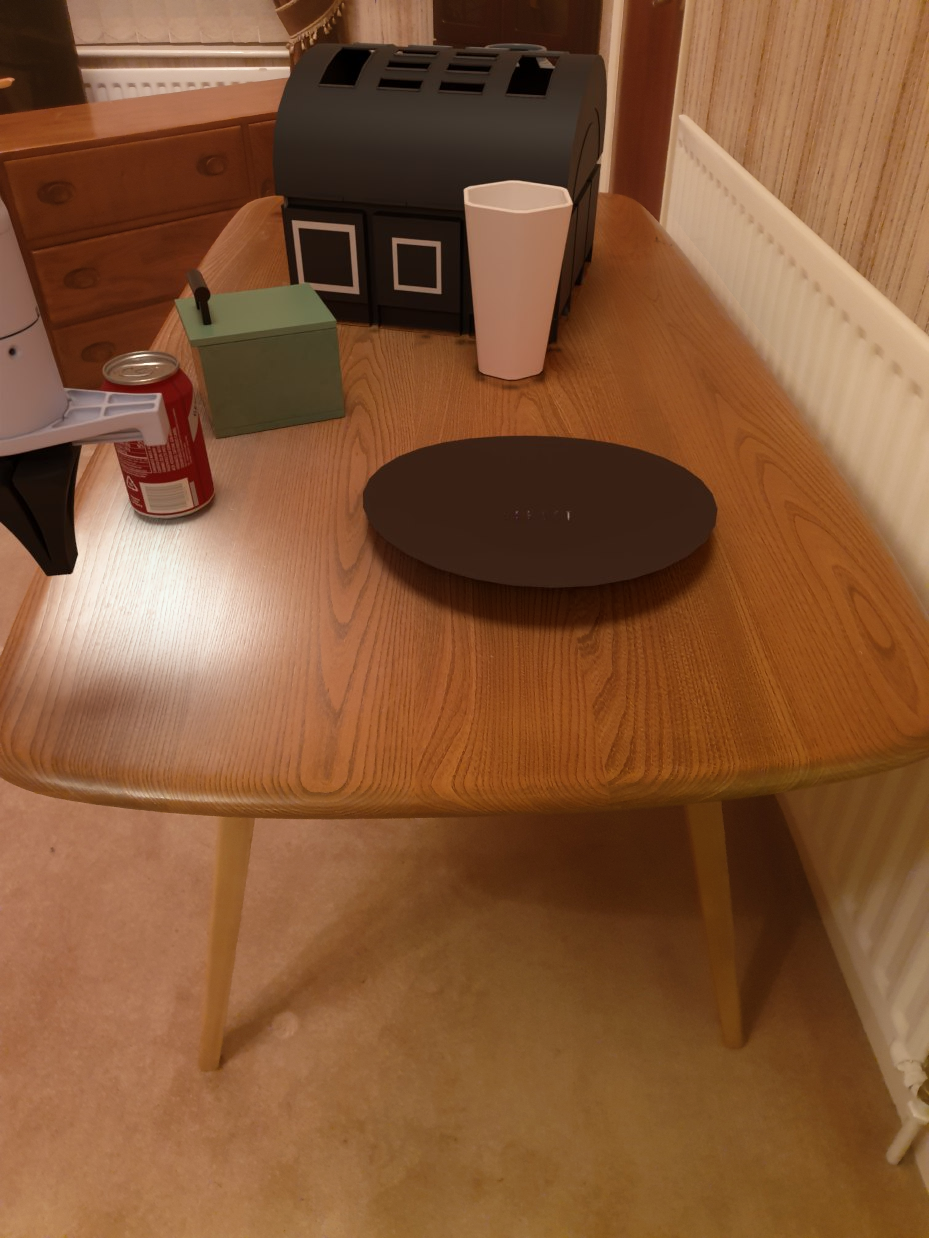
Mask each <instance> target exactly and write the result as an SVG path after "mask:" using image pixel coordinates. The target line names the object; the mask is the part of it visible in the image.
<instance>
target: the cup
mask: <svg viewBox="0 0 929 1238" xmlns="http://www.w3.org/2000/svg"><path fill="white" fill-rule="evenodd" d="M464 203H465V215H466V227H467V238H468V250H469V262H470V273H471V285H472V296H473V308H474V320H475V331H476V338H475V341H476V342H475V343H476V352H477V353H476V355H477V366H478V371H479V372H480V373H482V374H484V375H486V376H491V377H495V378H500V379H503V380H506V381H507V380H509V381H510V380H511V381H514V380H521V379H525V378H527V377H532V376H536V375H539V374H540V373H541V372H543V369H544V364H545V358H546V354H547V353H546V352H547V347H548V344H547V342H548V337H549V331H550V326H551V321H552V315H553V310H554V304H555V299H556V293H557V288H558V283H559V277H560V272H561V266H562V261H563V255H564V250H565V244H566V239H567V234H568V228H569V223H570V217H571V212H572V206H573V203H572V200H571V198H570V195H569V193H568V190H567V189H565V188H563V187H558V186H551V185H545V184H538V183H531V182H524V181H503V182H497V183H490V184H483V185H476V186H469V187H467V188H465V189H464Z"/></svg>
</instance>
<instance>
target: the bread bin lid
mask: <svg viewBox="0 0 929 1238" xmlns="http://www.w3.org/2000/svg"><path fill="white" fill-rule="evenodd" d="M185 278H186V282H187V283H188V285H189V287H190V290H191V292H192V295H193V296H191V297H183V298H175V299H174V305H175V308H176V311H177V314H178V316H179V319H180V322H181V325H182V327H183V330H184V332H185V335H186V338H187V341H188V343H189V346H191V347H199V346H206V345H213V344H220V343H227V342H235V341H242V340H249V339H256V338H264V337H271V336H278V335H285V334H292V333H300V332H307V331H314V330H321V329H328V328H338V324H337V322H336V319H335V318H334V316H333V315H332V314H331V312H330V311H329V310H328V308H327V307H326V306H325V304H324V303H323V301H322V300H321V299H320V297H319V296H318V295H317V293H316V292H315V291H314V289H313V288H312V287H311V285H310V284H309V283H305V284H297V285H290V284H289V285H282V286H273V287H266V288H258V289H249V290H241V291H233V292H224V293H217V294H211V291H210V289H209V287H208V285H207V283H206V281H205V278H204V276H203V274H202V273H201V271H200V270H199V269H197V268H191V269H189V270H188V271H187V272H186V277H185ZM191 347H190V348H191Z"/></svg>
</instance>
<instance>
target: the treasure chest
mask: <svg viewBox="0 0 929 1238" xmlns="http://www.w3.org/2000/svg"><path fill="white" fill-rule="evenodd" d="M537 58H547V59H557V60H556V63H555V65H552V66H540V64H539V61H538V59H537ZM517 63H518V64H519V65H518V64H517ZM607 106H608V81H607V69H606V63H605V60H604V57H603V56H602V54H588V53H587V54H585V53H584V54H583V53H570V52H569V50H568V51H559V50H558V51H557V50H547V51H537V50H528V52H518V51H510V49H503V48H485V47H480V46H479V47H477V46H476V47H475V46H466V47H465V48H454V46H452V45H451V46H450V45H433V44H432V45H431V44H430V45H429V44H408V45H407V46H399V45H398V46H397V45H396V44H394V43H373V42H371V43H370V42H357V41H356V42H353V43H352V44H351V43H331V42H330V43H329V42H327V43H316V44H315V45H313V46H312V47H310V48H309V49H307V50H305V51H304V53H303V54H302V55H301V56H300V58H299V59H298V61H296V63H295V64H294V66H293V68H292V71H291V72H290V75H289V77H288V78H287V81H286V82H285V85H284V89H283V92H282V95H281V97H280V101H279V105H278V106H277V107H278V108H277V113H276V117H275V123H274V127H273V141H272V171H273V173H272V174H273V185H274V194H275V197H276V196H277V197H282V198H283V203H282V204H280V209H281V218H282V226H283V234H284V235H283V236H284V243H285V249H286V250H285V251H286V260H287V268H288V275H289V285H297V284H305V283H309V284H310V285H311V287H312V288H313V289H314V291H315V292H316V293H317V295H318V296H319V297H320V299H321V300H322V301H323V303H324V304H325V306H326V307H327V308H328V310H329V311H330V312H331V314H332V315H333V316H334V318H335V319H336V322H337V325H338V324H339V325H347V326H348V325H349V326H357V327H366V328H371V326H372V325H378V329H384V330H394V331H395V330H396V331H404V332H412V333H423V334H431V335H432V334H433V335H441V336H449V337H451V336H452V337H461V336H462V335H463V334H467V335H468V338H470V339H476V331H475V320H474V308H473V296H472V285H471V273H470V262H469V250H468V238H467V227H466V215H465V203H464V189H465V188H467V187H469V186H476V185H483V184H490V183H497V182H503V181H524V182H531V183H538V184H545V185H551V186H558V187H563V188H565V189H567V190H568V193H569V195H570V198H571V200H572V203H573V206H572V212H571V217H570V223H569V228H568V234H567V239H566V244H565V250H564V255H563V261H562V266H561V272H560V277H559V283H558V288H557V293H556V299H555V304H554V310H553V315H552V321H551V326H550V331H549V337H548V342H547V345H549V344H557V343H558V340H559V339H560V336H561V334H562V332H563V330H564V327H565V325H566V323H567V320H568V317H569V314H570V313H571V311H572V309H573V306H574V304H575V301H576V299H577V297H578V294H579V292H580V290H581V287H582V284H583V283H584V281H585V278H586V277H587V274H588V271H589V269H590V267H591V265H592V260H593V249H594V240H595V231H596V230H595V229H596V219H597V210H598V198H599V191H600V179H601V169H602V164H601V163H598V162H599V159H600V158H601V156H602V154H603V153H604V148H605V147H604V146H605V136H606V135H605V134H606V124H607Z"/></svg>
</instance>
